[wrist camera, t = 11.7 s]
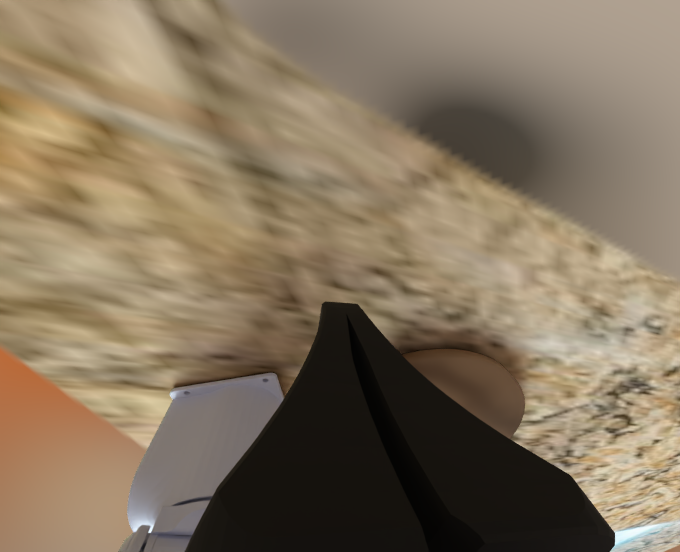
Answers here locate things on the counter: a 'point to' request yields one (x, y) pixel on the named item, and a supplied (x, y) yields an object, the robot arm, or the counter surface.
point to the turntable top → (474, 385)
